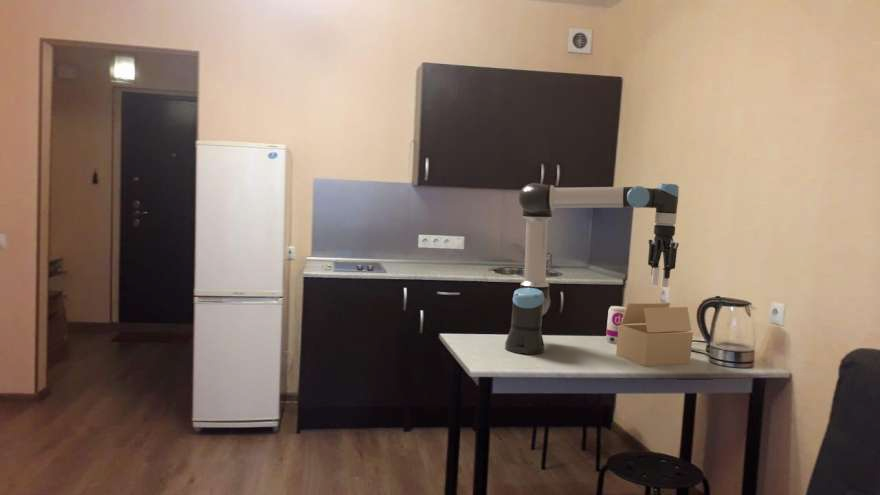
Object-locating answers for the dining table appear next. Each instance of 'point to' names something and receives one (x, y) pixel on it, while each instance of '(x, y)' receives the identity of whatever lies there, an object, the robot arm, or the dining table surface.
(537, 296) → the robot arm
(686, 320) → the near flap
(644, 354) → the carton
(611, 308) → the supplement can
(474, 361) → the dining table surface
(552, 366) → the dining table surface
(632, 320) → the far flap
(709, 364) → the dining table surface
